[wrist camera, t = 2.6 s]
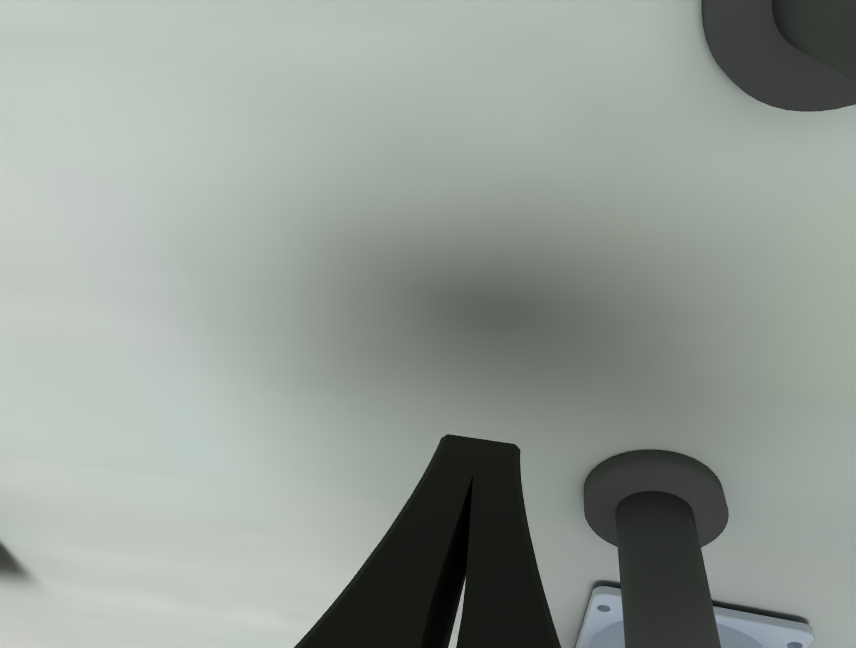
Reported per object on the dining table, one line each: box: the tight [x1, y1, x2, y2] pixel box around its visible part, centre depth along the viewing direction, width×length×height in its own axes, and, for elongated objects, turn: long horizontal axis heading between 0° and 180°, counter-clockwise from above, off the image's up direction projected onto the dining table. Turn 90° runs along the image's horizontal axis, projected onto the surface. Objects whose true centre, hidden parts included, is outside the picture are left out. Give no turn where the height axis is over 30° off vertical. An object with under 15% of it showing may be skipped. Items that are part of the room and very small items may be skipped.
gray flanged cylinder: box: [584, 450, 729, 648], centre depth 16 cm, size 4×4×8 cm
